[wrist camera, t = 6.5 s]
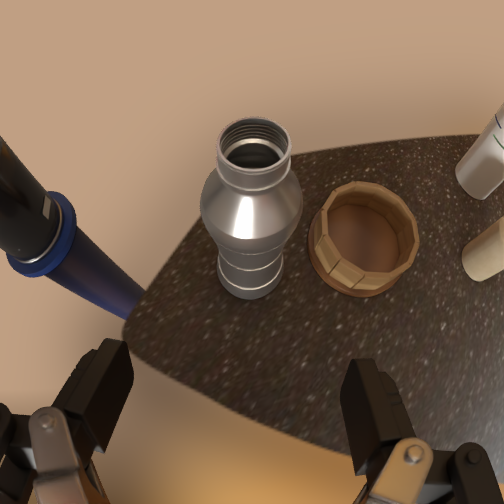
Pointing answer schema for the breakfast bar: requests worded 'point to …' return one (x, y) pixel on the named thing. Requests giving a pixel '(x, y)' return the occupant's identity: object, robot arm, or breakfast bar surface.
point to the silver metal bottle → (251, 205)
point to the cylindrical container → (484, 160)
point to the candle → (485, 253)
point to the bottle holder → (362, 239)
